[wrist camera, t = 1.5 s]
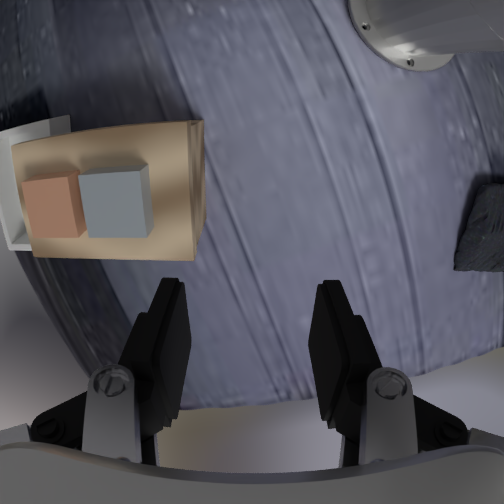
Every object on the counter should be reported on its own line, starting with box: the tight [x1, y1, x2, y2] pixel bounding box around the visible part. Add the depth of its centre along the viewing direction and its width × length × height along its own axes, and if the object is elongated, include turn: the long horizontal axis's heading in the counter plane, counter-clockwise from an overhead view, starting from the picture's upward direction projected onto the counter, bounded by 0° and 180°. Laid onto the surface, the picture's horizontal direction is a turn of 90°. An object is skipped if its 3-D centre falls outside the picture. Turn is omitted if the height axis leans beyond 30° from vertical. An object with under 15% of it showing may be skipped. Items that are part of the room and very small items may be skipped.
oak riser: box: [11, 120, 206, 261], centre depth 26 cm, size 11×16×8 cm, turn 89°
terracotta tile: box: [21, 170, 87, 238], centre depth 22 cm, size 5×5×2 cm
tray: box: [0, 115, 71, 251], centre depth 28 cm, size 14×10×4 cm
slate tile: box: [78, 164, 154, 238], centre depth 22 cm, size 5×5×2 cm
